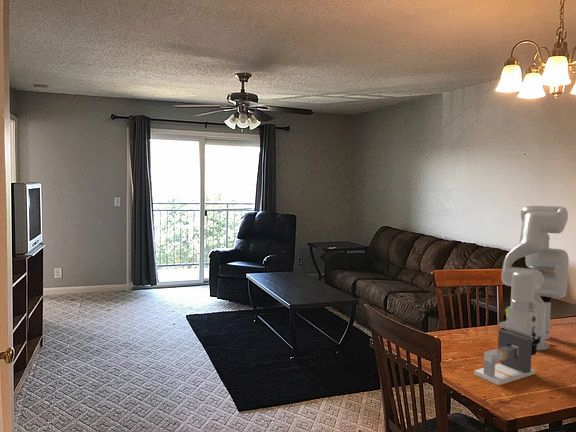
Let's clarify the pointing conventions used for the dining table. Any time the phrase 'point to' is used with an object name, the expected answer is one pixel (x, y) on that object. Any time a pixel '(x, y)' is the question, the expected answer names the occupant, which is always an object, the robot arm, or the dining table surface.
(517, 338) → the collar
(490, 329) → the dining table surface
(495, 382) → the stand
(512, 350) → the grey square bar
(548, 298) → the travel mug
